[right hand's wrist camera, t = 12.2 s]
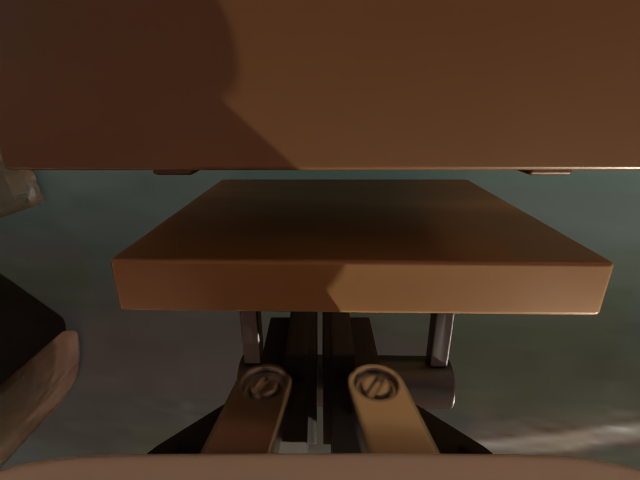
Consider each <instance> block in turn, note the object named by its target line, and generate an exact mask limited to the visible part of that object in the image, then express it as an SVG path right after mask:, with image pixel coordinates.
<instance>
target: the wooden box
mask: <svg viewBox="0 0 640 480" xmlns="http://www.w3.org/2000/svg"><path fill="white" fill-rule="evenodd" d="M0 152H1V156H2V159H3V162H4V165H5V167H6V169H10V170H640V0H0Z"/></svg>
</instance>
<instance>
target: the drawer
mask: <svg viewBox="0 0 640 480" xmlns="http://www.w3.org/2000/svg"><path fill="white" fill-rule="evenodd" d="M197 171H199V170H153V172H154V173H155V174H157V175H191V174H193V173H195V172H197ZM518 171H521V172H524V173H527V174H529V175H568V174H570V173H571V172H572V170H518ZM111 266H112V270H113V275H114V279H115V284H116V288H117V293H118V297H119V301H120V306H121V308H122V309H124V310H191V311H240V320H241V331H242V341H243V352H244V355H243V356H242V358H241V361H240V364H239V369H238V375H237V379H238V378H239V376H240V375H241V374H242V373H243V372H245V371H246V370H247V369H249V368H252V367H254V366H257V365H260V364H261V359H262V355H263V351H264V350H263V336H262V322H261V311H286V312H382V313H431V319H430V327H429V336H428V344H427V353H426V356H390V355H378V359H379V364H380V365H383V366H386V367H388V368H391V369H393V370H394V371H395V372H397V373H398V374H399V375H400V376H401V378H402V379H403V381H404V383H405V385H406V387H407V389H408V391H409V393H410V395H411V397H412V399H413V401H414V403H415V404H416V405H418V406H419V407H421V408H423V409H451V408H452V407H453V405H454V402H455V379H454V373H453V369H452V366H451V364H450V361H449V360H448V356H449V349H450V342H451V335H452V328H453V321H454V314H455V313H477V314H573V315H596V314H598V313H599V311H600V308H601V305H602V302H603V298H604V295H605V292H606V288H607V285H608V282H609V278H610V275H611V272H612V269H613V263H612V262H611V261H609V260H607V259H605V258H604V257H602V256H600V255H598V254H597V253H595V252H593V251H591V250H590V249H588V248H586V247H584V246H583V245H581V244H579V243H577V242H576V241H574V240H572V239H570V238H569V237H567V236H565V235H563V234H562V233H560V232H558V231H556V230H555V229H553V228H551V227H549V226H547V225H546V224H544V223H542V222H540V221H539V220H537V219H535V218H533V217H532V216H530V215H528V214H526V213H525V212H523V211H521V210H519V209H518V208H516V207H514V206H512V205H511V204H509V203H507V202H505V201H504V200H502V199H500V198H498V197H496V196H495V195H493V194H491V193H489V192H488V191H486V190H484V189H482V188H481V187H479V186H477V185H475V184H474V183H472V182H470V181H468V180H221V181H220V182H219V183H217V184H216V185H214V186H213V187H212V188H210V189H209V190H207V191H206V192H205V193H203V194H202V195H200V196H199V197H198V198H196V199H195V200H193V201H192V202H191V203H189V204H188V205H186V206H185V207H184V208H182V209H181V210H179V211H178V212H177V213H175V214H174V215H172V216H171V217H170V218H168V219H167V220H165V221H164V222H163V223H161V224H160V225H158V226H157V227H156V228H154V229H153V230H151V231H150V232H149V233H147V234H146V235H144V236H143V237H142V238H140V239H139V240H137V241H136V242H135V243H133V244H132V245H130V246H129V247H128V248H126V249H125V250H123V251H122V252H121V253H119V254H118V255H116V256H115V257H114V258H112V260H111ZM317 407H323V355H317Z"/></svg>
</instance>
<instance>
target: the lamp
mask: <svg viewBox="0 0 640 480" xmlns="http://www.w3.org/2000/svg"><path fill="white" fill-rule="evenodd" d="M42 203H44V199H43V196H42V193H41V190H40V188H39V185H38V182H37V179H36V177H35V175H34V173H33V171H32V170H10V169H6V167H5V165H4V162H3V159H2V156H1V152H0V218H2V217H5V216H8V215H11V214H13V213H16V212H19V211H22V210H25V209H28V208H31V207H34V206H37V205H39V204H42ZM79 356H80V348H79V340H78V333H77V332H75V331H63V332H62V333H61V334H60V335H59V336H57V337H56V338H55V339H54V340H53V341H51V342H50V343H49V344H48V345H47V346H46V347H44V348H43V349H42V350H41V351H40V352H39V353H37V354H36V355H35V356H34V357H33V358H32V359H30V360H29V361H28V362H27V363H26V364H24V365H23V366H22V367H21V368H20V369H19V370H17V371H16V372H15V373H14V374H13V375H12V376H10V377H9V378H8V379H7V380H6V381H4V382H3V383H2V384H1V385H0V469H1V467H2V466H3V465H4V464H5V463H6V462H7V461H8V460H9V459H10V458H11V456H12V455H13V454H14V453H15V452H16V451H17V450H18V449H19V448H20V446H21V445H22V444H23V443H24V442H25V441H26V440H27V439H28V438H29V437H30V435H31V434H32V433H33V432H34V431H35V430H36V429H37V428H38V427H39V425H40V424H41V423H42V422H43V421H44V420H45V419H46V418H47V417H48V416H49V414H50V413H51V412H52V411H53V410H54V409H55V408H56V407H57V406H58V404H59V403H60V402H61V401H62V400H63V399H64V398H65V397H66V395H67V394H68V392H69V390H70V389H71V387H72V385H73V384H74V381H75V378H76V375H77V372H78V368H79Z"/></svg>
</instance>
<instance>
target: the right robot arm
mask: <svg viewBox="0 0 640 480" xmlns="http://www.w3.org/2000/svg"><path fill="white" fill-rule="evenodd" d="M316 439H317V312H291V314H290V318H271V320H270V324H269V328H268V333H267V337H266V342H265V346H264V351H263V355H262V359H261V364H260V365H257V366H254V367H252V368H249V369H247V370H246V371H245V372H243V373H242V374H241V375H240V376H239V378H238V379H237V381H236V383H235V385H234V387H233V389H232V391H231V393H230V395H229V397H228V399H227V401H226V403H225V404H224V405H222V406H221V407H219V408H217V409H216V410H214V411H213V412H211V413H209V414H208V415H206V416H205V417H203V418H201V419H200V420H198V421H197V422H195V423H193V424H192V425H190V426H189V427H187V428H185V429H184V430H182V431H180V432H179V433H177V434H176V435H174V436H172V437H171V438H169V439H168V440H166V441H164V442H163V443H161V444H160V445H158V446H156V447H155V448H154V449H153V450H151V451H150V452H149V453H147V454H118V455H94V456H71V457H62V458H54V459H45V460H40V461H35V462H30V463H26V464H21V465H16V466H13V467H9V468H6V469H3V470H0V480H640V470H637V469H634V468H631V467H627V466H624V465H619V464H614V463H610V462H605V461H600V460H595V459H586V458H578V457H569V456H545V455H522V454H493V453H491V452H490V451H489V450H487V449H486V448H485V447H484V446H482V445H480V444H479V443H477V442H476V441H474V440H472V439H471V438H469V437H468V436H466V435H464V434H463V433H461V432H460V431H458V430H456V429H455V428H453V427H451V426H450V425H448V424H447V423H445V422H443V421H442V420H440V419H439V418H437V417H435V416H434V415H432V414H431V413H429V412H427V411H426V410H424V409H423V408H421V407H419V406H418V405H416V404H415V403H414V401H413V399H412V397H411V395H410V393H409V391H408V389H407V387H406V385H405V383H404V381H403V379H402V378H401V376H400V375H399V374H398V373H397V372H395V371H394V370H393V369H391V368H388V367H386V366H383V365H380V364H379V359H378V355H377V351H376V346H375V342H374V337H373V333H372V329H371V324H370V320H369V318H350V315H349V312H323V440H324V444H331V453H309V444H316Z"/></svg>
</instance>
